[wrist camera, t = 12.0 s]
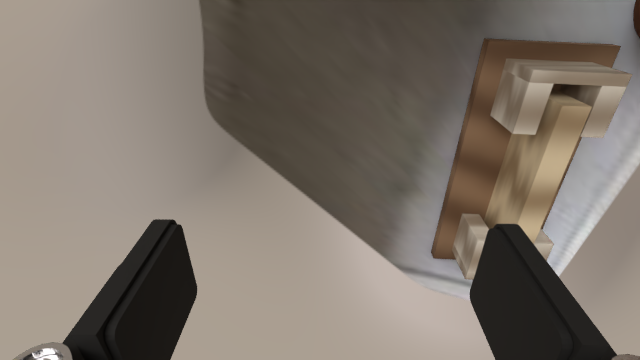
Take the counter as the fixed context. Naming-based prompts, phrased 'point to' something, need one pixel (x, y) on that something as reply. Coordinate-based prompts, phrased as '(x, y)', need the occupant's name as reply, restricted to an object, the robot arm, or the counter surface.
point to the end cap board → (494, 134)
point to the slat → (536, 166)
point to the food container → (637, 17)
